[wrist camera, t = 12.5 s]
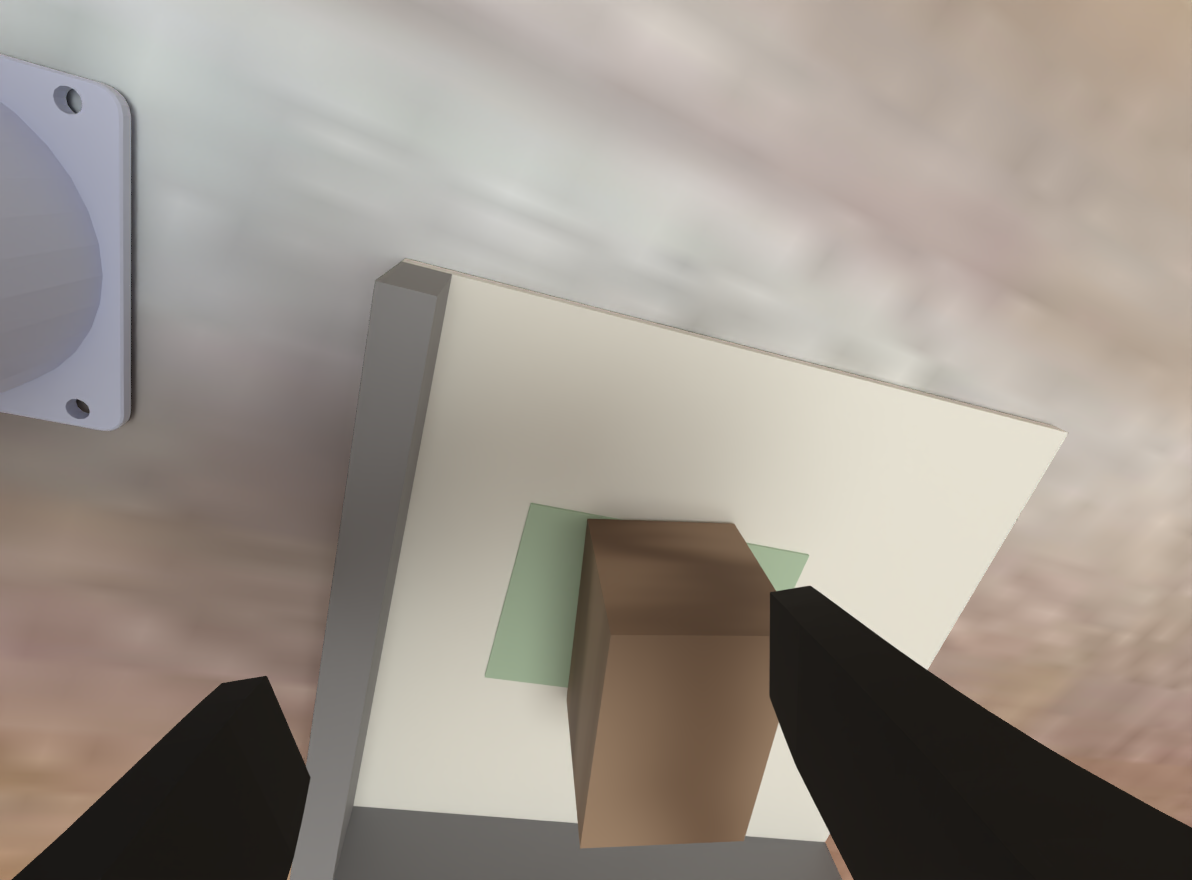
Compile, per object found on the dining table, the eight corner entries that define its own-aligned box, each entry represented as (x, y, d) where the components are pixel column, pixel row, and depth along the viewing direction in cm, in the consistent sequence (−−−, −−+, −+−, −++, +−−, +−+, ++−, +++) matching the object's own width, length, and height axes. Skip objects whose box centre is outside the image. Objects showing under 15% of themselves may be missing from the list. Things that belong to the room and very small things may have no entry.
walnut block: (566, 699, 21) (580, 848, 16) (587, 518, 18) (610, 635, 13) (695, 698, 21) (743, 840, 17) (734, 523, 19) (804, 636, 14)
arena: (318, 810, 22) (284, 920, 19) (405, 258, 15) (375, 280, 12) (807, 847, 26) (848, 942, 23) (1052, 425, 19) (1161, 476, 16)
